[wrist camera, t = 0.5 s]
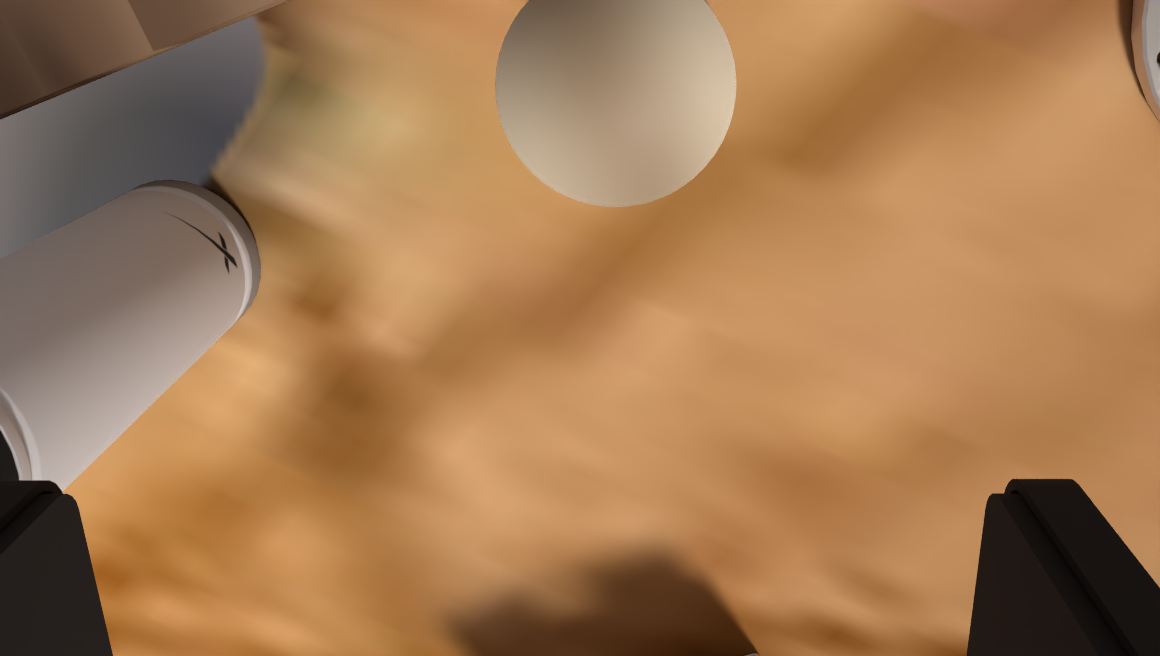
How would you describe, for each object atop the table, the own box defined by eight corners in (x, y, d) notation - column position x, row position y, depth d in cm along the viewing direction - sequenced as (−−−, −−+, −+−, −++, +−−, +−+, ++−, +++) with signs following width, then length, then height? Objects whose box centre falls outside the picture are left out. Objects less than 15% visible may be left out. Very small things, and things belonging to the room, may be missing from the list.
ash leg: (677, -80, 35) (691, -77, 22) (726, 74, 37) (767, 161, 24) (528, -21, 36) (458, 16, 23) (583, 126, 38) (546, 238, 25)
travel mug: (272, 190, 40) (-66, 435, 21) (254, 347, 42) (-62, 691, 23) (109, 152, 39) (-377, 365, 21) (101, 312, 42) (-340, 630, 23)
